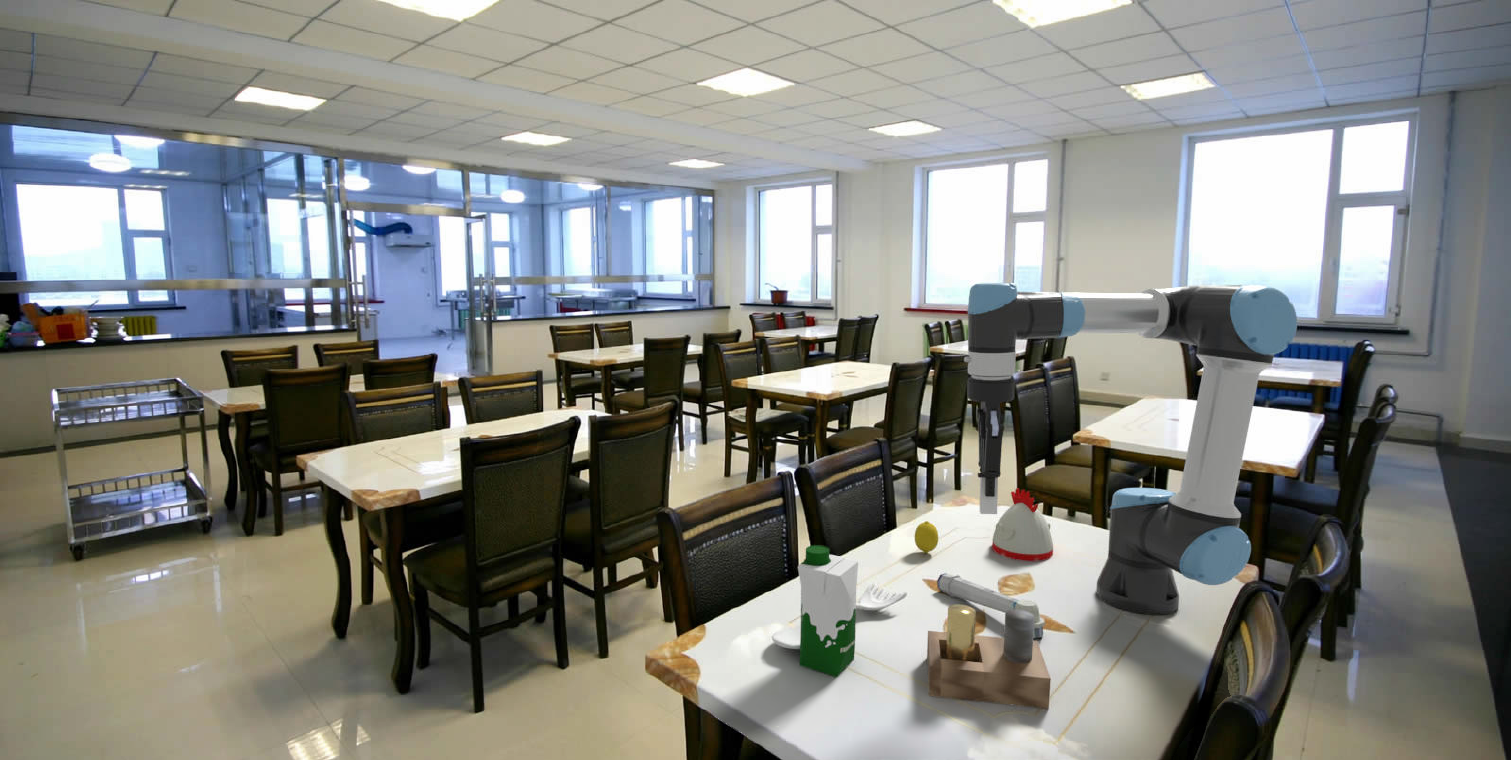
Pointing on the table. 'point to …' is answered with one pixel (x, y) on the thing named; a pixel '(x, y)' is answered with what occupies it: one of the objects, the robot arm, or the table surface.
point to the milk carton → (827, 610)
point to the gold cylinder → (960, 633)
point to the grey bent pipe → (988, 598)
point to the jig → (993, 667)
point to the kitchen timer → (1023, 531)
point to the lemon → (926, 537)
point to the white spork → (866, 602)
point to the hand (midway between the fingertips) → (988, 512)
